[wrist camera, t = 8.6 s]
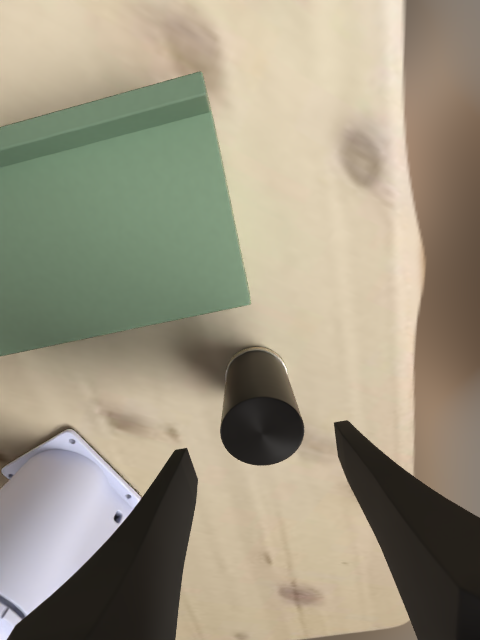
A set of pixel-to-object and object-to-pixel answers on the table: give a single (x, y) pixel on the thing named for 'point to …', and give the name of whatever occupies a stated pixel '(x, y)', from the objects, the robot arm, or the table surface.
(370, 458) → the robot arm
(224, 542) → the table surface
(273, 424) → the cylinder
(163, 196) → the shelf
